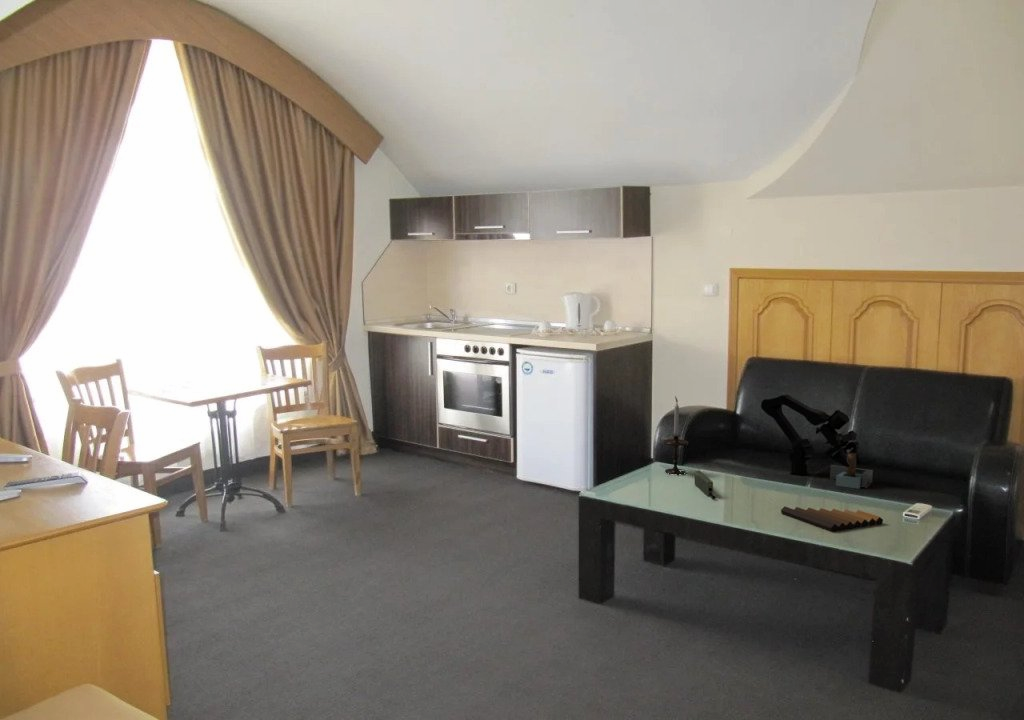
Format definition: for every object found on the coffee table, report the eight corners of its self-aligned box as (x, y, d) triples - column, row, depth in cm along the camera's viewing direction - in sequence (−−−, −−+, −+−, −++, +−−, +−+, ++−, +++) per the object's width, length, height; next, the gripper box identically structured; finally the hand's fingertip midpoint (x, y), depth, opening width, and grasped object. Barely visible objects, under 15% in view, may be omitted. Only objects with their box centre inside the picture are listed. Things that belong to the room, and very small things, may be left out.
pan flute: (780, 515, 325) (830, 533, 302) (780, 506, 324) (831, 524, 302) (830, 508, 335) (882, 525, 312) (831, 499, 335) (883, 516, 312)
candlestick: (659, 473, 389) (660, 396, 386) (669, 469, 398) (670, 393, 395) (681, 476, 383) (683, 398, 380) (691, 472, 392) (693, 395, 389)
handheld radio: (701, 485, 369) (718, 500, 344) (694, 486, 369) (710, 501, 344) (701, 470, 368) (718, 484, 343) (693, 470, 368) (709, 484, 343)
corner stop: (825, 482, 374) (825, 468, 373) (831, 478, 382) (831, 464, 381) (866, 488, 364) (867, 474, 363) (872, 483, 372) (872, 470, 371)
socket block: (835, 486, 369) (836, 475, 369) (842, 481, 377) (842, 471, 376) (859, 489, 363) (859, 479, 363) (865, 485, 371) (865, 474, 371)
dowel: (846, 484, 369) (847, 453, 367) (845, 482, 372) (847, 452, 371) (855, 484, 368) (856, 454, 366) (854, 482, 371) (856, 452, 370)
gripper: (832, 427, 365) (855, 457, 357) (856, 422, 376) (879, 451, 369) (815, 442, 372) (837, 472, 364) (838, 437, 383) (861, 466, 376)
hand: (854, 465), depth 368 cm, fingers open, 9 cm apart
